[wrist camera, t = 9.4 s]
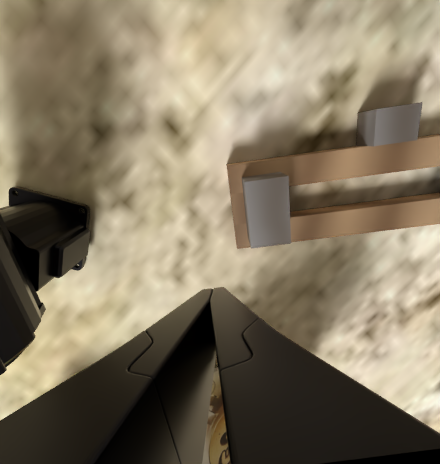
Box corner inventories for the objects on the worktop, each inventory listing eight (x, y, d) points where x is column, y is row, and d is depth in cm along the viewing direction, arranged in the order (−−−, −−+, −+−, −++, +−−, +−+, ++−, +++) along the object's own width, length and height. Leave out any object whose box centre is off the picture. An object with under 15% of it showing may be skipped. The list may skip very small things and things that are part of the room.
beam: (236, 241, 22) (239, 261, 19) (222, 133, 19) (223, 130, 15) (507, 207, 21) (569, 221, 17) (542, 85, 18) (628, 70, 14)
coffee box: (270, 339, 26) (338, 603, 11) (296, 375, 28) (385, 643, 13) (201, 371, 28) (180, 639, 13) (230, 404, 30) (240, 670, 15)
